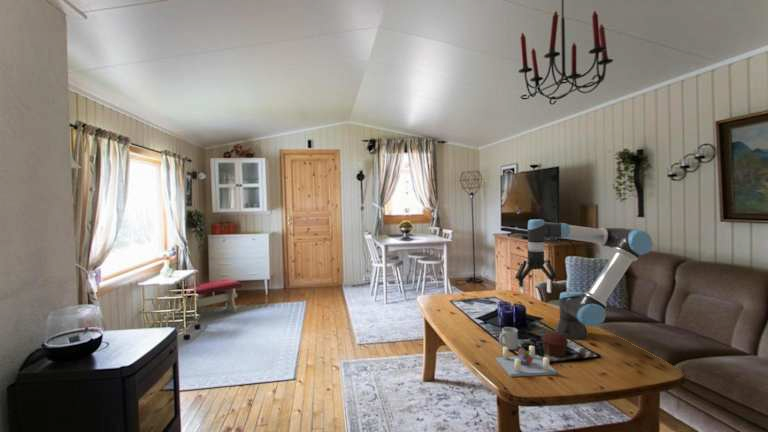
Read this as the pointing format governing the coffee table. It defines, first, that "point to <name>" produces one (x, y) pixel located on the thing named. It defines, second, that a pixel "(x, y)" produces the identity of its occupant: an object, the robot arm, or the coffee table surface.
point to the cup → (509, 338)
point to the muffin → (554, 344)
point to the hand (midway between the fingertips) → (535, 292)
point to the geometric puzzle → (525, 356)
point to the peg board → (525, 365)
